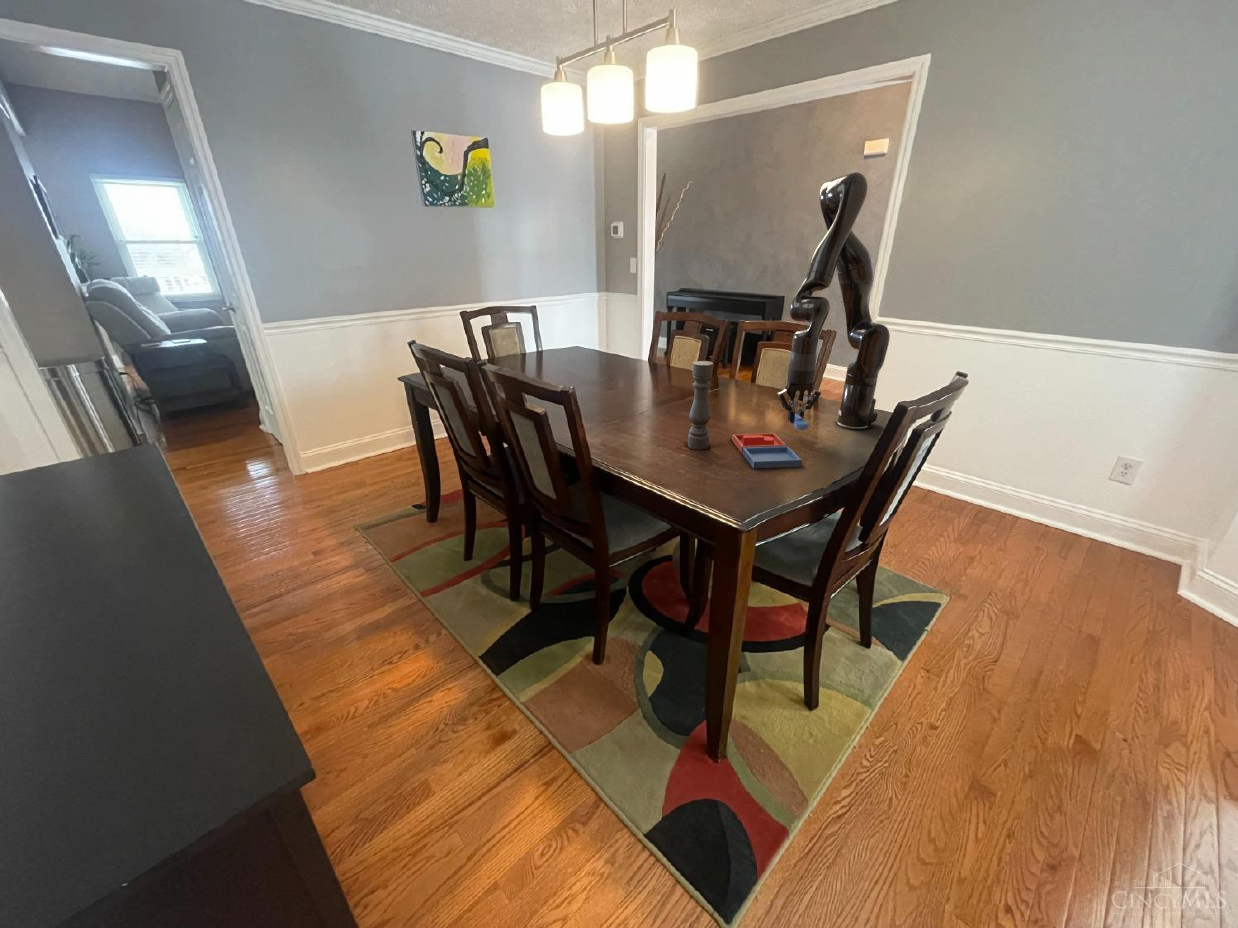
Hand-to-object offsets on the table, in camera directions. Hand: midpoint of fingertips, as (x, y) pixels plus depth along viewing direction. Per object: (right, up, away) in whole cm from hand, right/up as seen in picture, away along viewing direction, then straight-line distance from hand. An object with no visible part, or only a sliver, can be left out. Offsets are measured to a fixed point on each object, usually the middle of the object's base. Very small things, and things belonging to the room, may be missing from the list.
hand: (795, 422), depth 153 cm
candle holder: (-31, -8, -5) cm, 32 cm away
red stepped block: (-13, -7, -5) cm, 16 cm away
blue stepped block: (0, -1, -2) cm, 2 cm away
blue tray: (-12, -12, -15) cm, 23 cm away
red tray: (-13, -8, -5) cm, 16 cm away
